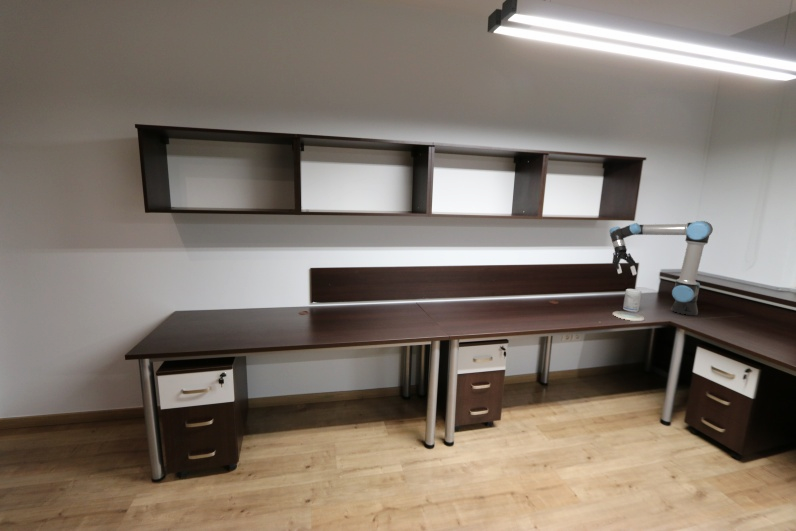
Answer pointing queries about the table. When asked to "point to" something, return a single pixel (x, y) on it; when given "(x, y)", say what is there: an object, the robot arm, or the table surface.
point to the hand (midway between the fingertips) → (627, 273)
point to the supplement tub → (632, 300)
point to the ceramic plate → (628, 316)
